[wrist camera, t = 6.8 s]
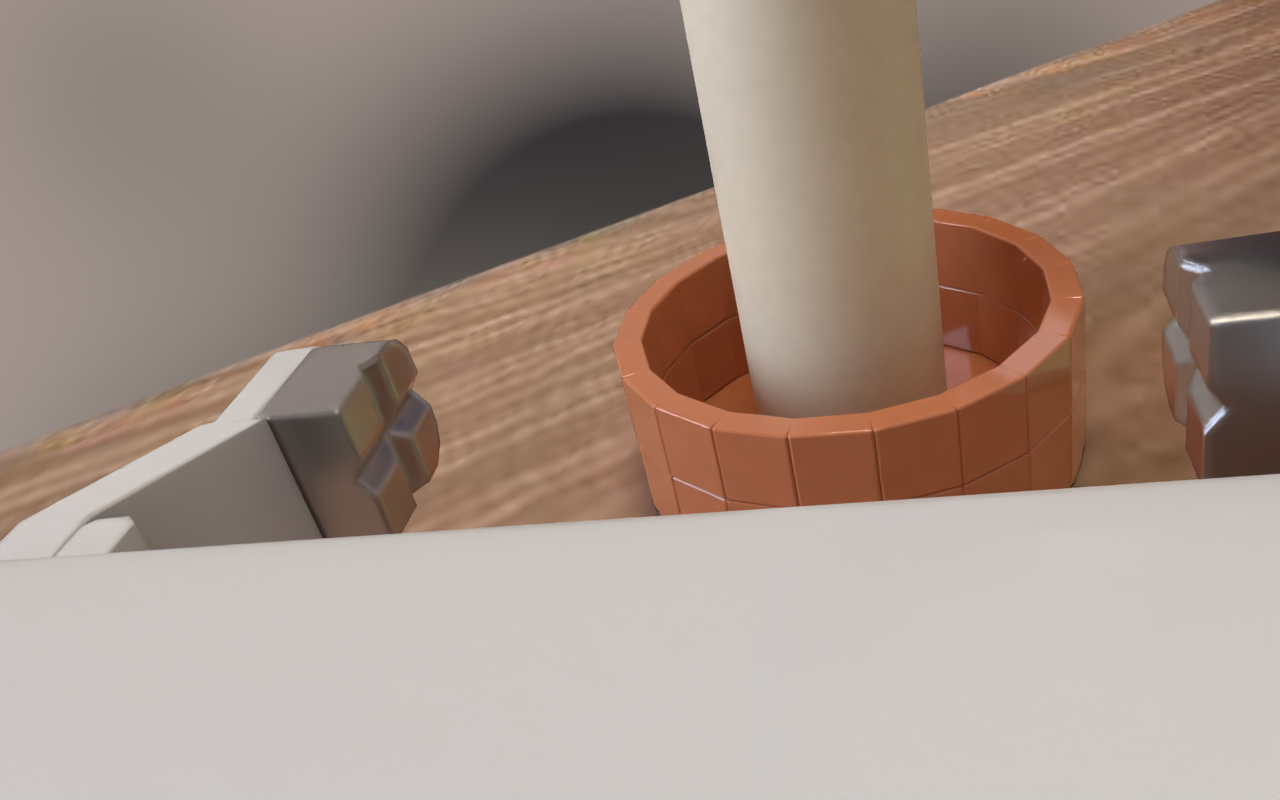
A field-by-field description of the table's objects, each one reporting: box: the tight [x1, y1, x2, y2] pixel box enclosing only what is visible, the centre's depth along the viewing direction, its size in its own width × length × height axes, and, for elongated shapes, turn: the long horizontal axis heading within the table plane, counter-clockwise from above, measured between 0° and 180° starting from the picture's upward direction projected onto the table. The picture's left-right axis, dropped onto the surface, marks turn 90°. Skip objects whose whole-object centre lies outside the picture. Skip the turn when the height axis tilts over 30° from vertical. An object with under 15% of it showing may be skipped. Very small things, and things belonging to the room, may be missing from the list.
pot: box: [614, 209, 1086, 516], centre depth 27 cm, size 11×11×4 cm
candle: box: [680, 0, 947, 418], centre depth 24 cm, size 5×5×15 cm
